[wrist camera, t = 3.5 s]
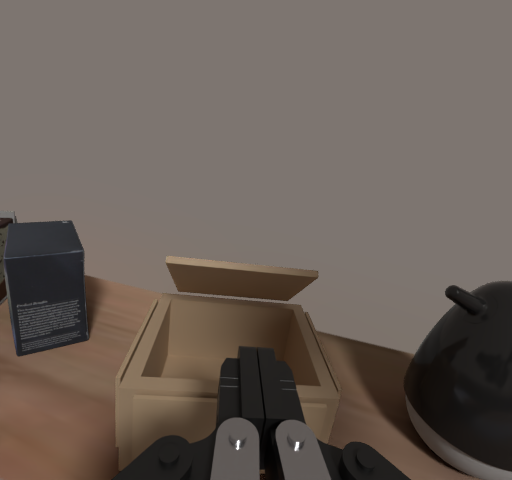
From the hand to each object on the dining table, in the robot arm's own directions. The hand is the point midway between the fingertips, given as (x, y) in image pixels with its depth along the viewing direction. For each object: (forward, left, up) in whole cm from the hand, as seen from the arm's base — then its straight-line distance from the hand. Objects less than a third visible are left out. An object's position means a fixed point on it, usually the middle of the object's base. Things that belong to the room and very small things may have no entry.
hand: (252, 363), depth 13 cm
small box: (+20, -20, -13) cm, 31 cm away
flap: (0, -17, -6) cm, 18 cm away
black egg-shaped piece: (-20, -7, -13) cm, 25 cm away
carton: (0, -10, -13) cm, 17 cm away
